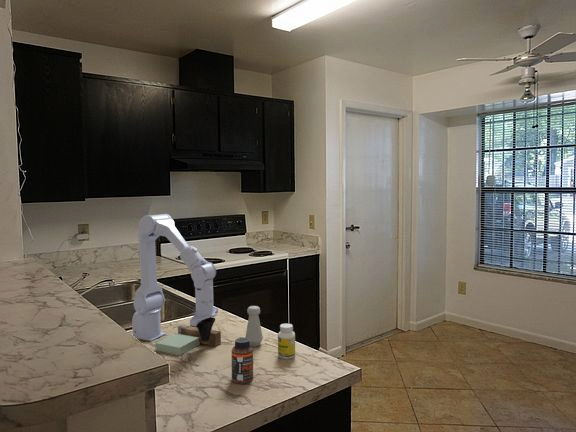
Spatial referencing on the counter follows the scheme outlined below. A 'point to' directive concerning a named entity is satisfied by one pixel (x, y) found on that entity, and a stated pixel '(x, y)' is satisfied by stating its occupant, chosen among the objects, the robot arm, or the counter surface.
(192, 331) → the folding leg
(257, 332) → the salt shaker
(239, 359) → the supplement bottle
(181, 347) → the stool seat
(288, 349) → the supplement bottle
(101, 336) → the counter surface
